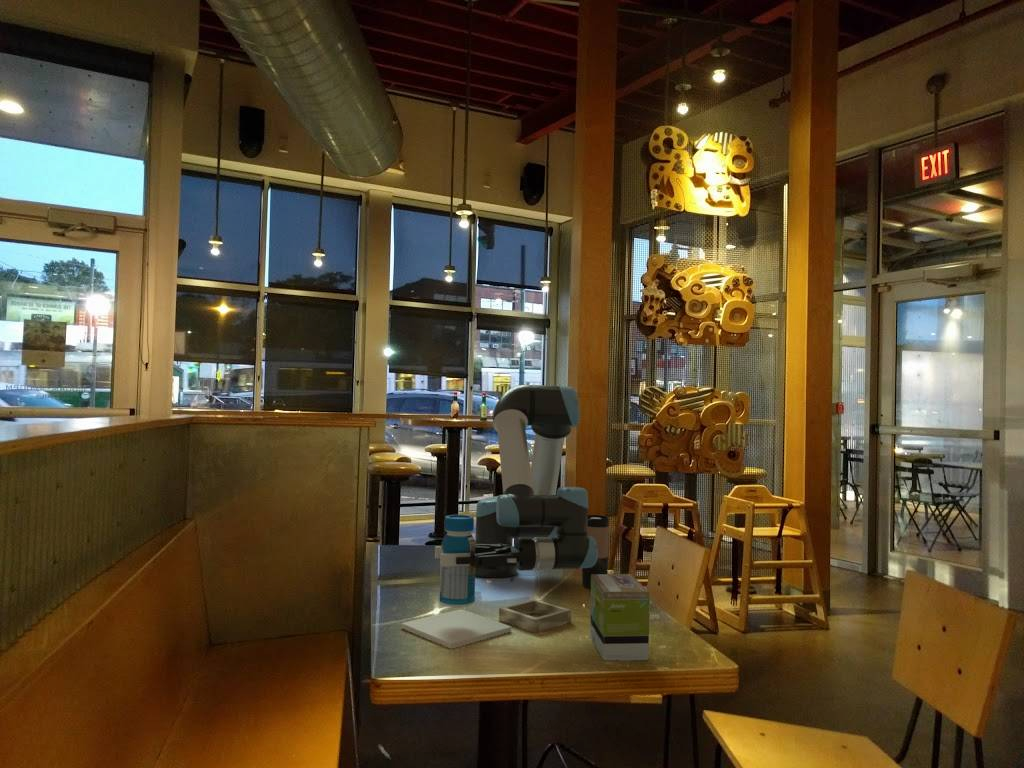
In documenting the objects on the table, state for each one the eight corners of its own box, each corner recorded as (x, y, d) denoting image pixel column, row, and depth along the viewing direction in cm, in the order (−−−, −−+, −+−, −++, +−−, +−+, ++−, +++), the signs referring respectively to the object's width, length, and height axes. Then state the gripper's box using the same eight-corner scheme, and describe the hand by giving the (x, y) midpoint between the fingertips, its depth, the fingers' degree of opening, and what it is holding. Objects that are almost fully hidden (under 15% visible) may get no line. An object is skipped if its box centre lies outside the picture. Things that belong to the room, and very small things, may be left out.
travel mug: (607, 582, 213) (608, 515, 213) (608, 589, 205) (609, 519, 206) (581, 581, 213) (583, 514, 214) (581, 587, 206) (583, 518, 206)
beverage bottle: (447, 610, 159) (449, 520, 159) (433, 600, 166) (435, 514, 167) (481, 606, 163) (483, 518, 163) (466, 597, 170) (468, 513, 171)
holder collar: (498, 620, 173) (499, 607, 173) (534, 610, 182) (534, 599, 182) (535, 633, 164) (536, 619, 164) (570, 622, 173) (571, 610, 173)
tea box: (588, 637, 162) (589, 572, 162) (631, 637, 163) (633, 572, 163) (602, 661, 147) (603, 589, 147) (649, 661, 148) (651, 590, 148)
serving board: (401, 628, 165) (401, 623, 165) (460, 613, 177) (460, 609, 177) (451, 649, 152) (451, 643, 152) (511, 631, 164) (511, 626, 164)
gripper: (545, 580, 159) (444, 583, 153) (521, 560, 179) (431, 562, 173) (546, 546, 159) (445, 548, 154) (522, 530, 179) (432, 531, 174)
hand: (438, 556), depth 164 cm, fingers closed on beverage bottle, 8 cm apart
